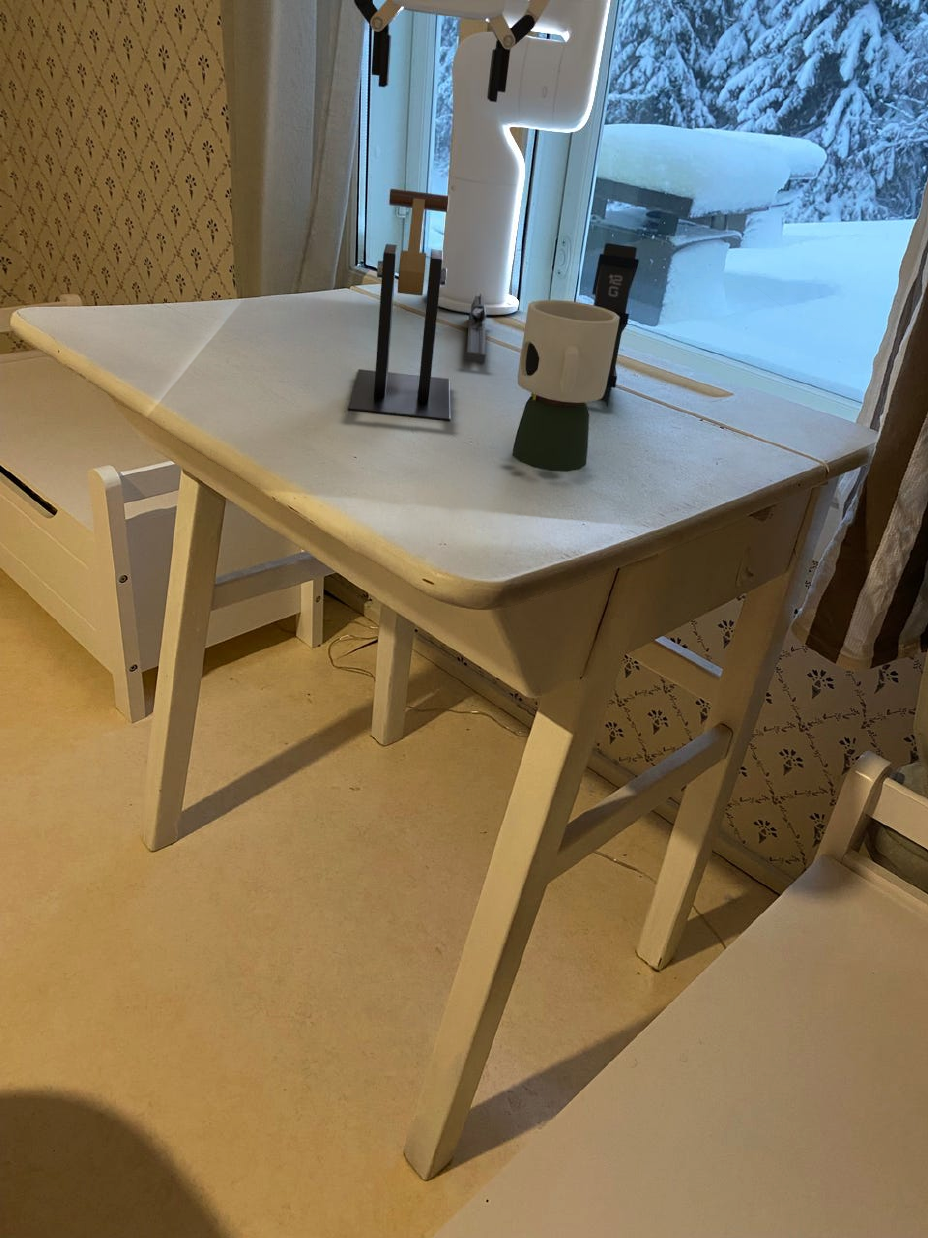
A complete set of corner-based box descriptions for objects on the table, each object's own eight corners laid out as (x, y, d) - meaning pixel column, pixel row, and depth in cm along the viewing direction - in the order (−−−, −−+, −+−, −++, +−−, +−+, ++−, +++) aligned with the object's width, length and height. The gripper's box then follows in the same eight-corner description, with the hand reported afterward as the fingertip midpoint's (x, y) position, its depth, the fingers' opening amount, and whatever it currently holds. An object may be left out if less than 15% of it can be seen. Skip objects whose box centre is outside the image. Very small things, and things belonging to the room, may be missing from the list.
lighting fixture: (488, 375, 100) (493, 336, 98) (464, 373, 100) (468, 333, 97) (488, 331, 116) (492, 296, 114) (467, 328, 116) (471, 293, 113)
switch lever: (389, 204, 89) (390, 180, 87) (447, 211, 89) (449, 187, 87) (378, 290, 81) (379, 267, 79) (441, 298, 82) (443, 274, 80)
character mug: (505, 441, 82) (527, 289, 76) (584, 451, 83) (613, 300, 76) (504, 488, 73) (528, 320, 66) (593, 500, 73) (627, 333, 67)
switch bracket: (357, 381, 92) (366, 233, 85) (448, 391, 93) (464, 245, 86) (347, 422, 82) (355, 257, 75) (448, 433, 83) (466, 270, 76)
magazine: (574, 399, 90) (602, 240, 88) (570, 418, 103) (594, 280, 101) (613, 405, 89) (641, 246, 88) (603, 423, 102) (628, 285, 101)
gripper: (562, -130, 77) (530, 104, 86) (353, -162, 76) (342, 80, 84) (573, -147, 71) (538, 108, 79) (345, -183, 69) (335, 81, 78)
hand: (437, 93), depth 82 cm, fingers open, 9 cm apart
